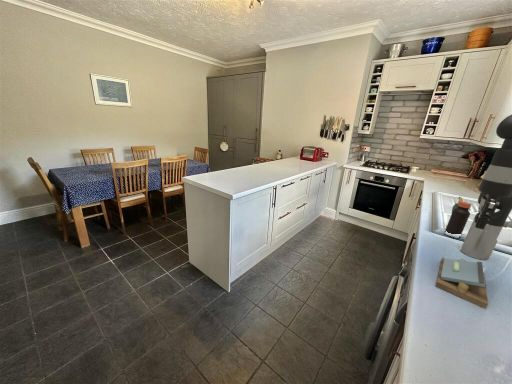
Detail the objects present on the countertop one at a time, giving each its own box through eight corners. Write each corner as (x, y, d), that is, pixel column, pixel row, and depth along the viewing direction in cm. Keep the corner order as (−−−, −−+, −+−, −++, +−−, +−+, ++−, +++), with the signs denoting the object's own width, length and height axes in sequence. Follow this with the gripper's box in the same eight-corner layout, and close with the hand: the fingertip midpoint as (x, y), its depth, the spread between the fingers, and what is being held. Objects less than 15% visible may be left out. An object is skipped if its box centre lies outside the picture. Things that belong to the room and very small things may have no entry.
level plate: (444, 260, 89) (443, 254, 89) (482, 265, 81) (481, 258, 81) (441, 279, 77) (440, 272, 77) (485, 287, 69) (484, 279, 69)
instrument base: (440, 261, 92) (444, 252, 91) (482, 276, 84) (486, 267, 83) (435, 286, 77) (439, 276, 75) (485, 308, 68) (491, 298, 67)
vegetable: (456, 230, 124) (469, 199, 118) (448, 229, 125) (460, 198, 119) (451, 227, 129) (463, 196, 122) (443, 225, 129) (455, 195, 123)
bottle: (442, 234, 118) (455, 201, 111) (445, 231, 122) (458, 199, 115) (458, 240, 113) (473, 206, 106) (460, 236, 117) (475, 203, 110)
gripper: (520, 186, 61) (496, 236, 67) (513, 179, 71) (492, 223, 76) (484, 180, 66) (464, 227, 71) (482, 175, 76) (464, 216, 81)
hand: (478, 225), depth 74 cm, fingers open, 5 cm apart
